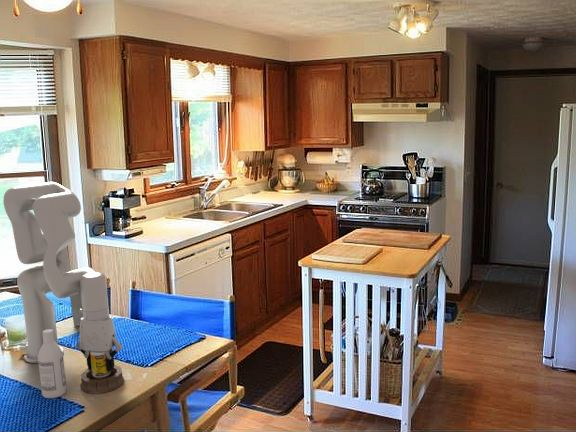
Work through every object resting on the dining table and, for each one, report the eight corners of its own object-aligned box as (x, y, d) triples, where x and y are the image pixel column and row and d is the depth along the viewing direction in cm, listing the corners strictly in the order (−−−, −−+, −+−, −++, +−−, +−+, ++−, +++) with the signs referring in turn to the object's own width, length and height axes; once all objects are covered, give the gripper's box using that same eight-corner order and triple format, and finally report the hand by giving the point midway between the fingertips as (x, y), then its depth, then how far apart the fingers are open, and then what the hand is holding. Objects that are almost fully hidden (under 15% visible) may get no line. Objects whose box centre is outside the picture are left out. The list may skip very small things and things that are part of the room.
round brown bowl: (71, 392, 175) (70, 381, 174) (94, 372, 188) (93, 362, 187) (111, 395, 173) (110, 384, 172) (131, 375, 185) (130, 365, 184)
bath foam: (59, 385, 180) (52, 324, 176) (71, 392, 175) (64, 329, 171) (37, 394, 174) (30, 331, 171) (49, 401, 170) (42, 337, 166)
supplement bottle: (95, 380, 176) (92, 348, 174) (90, 373, 180) (87, 342, 178) (113, 375, 179) (110, 344, 177) (108, 368, 183) (105, 338, 181)
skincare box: (89, 326, 228) (85, 287, 225) (71, 326, 228) (67, 288, 225) (96, 318, 236) (93, 281, 233) (79, 318, 236) (75, 281, 233)
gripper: (63, 316, 174) (69, 372, 177) (116, 319, 170) (121, 376, 174) (77, 307, 181) (82, 362, 184) (128, 310, 178) (132, 365, 181)
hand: (101, 368), depth 179 cm, fingers closed on supplement bottle, 5 cm apart
